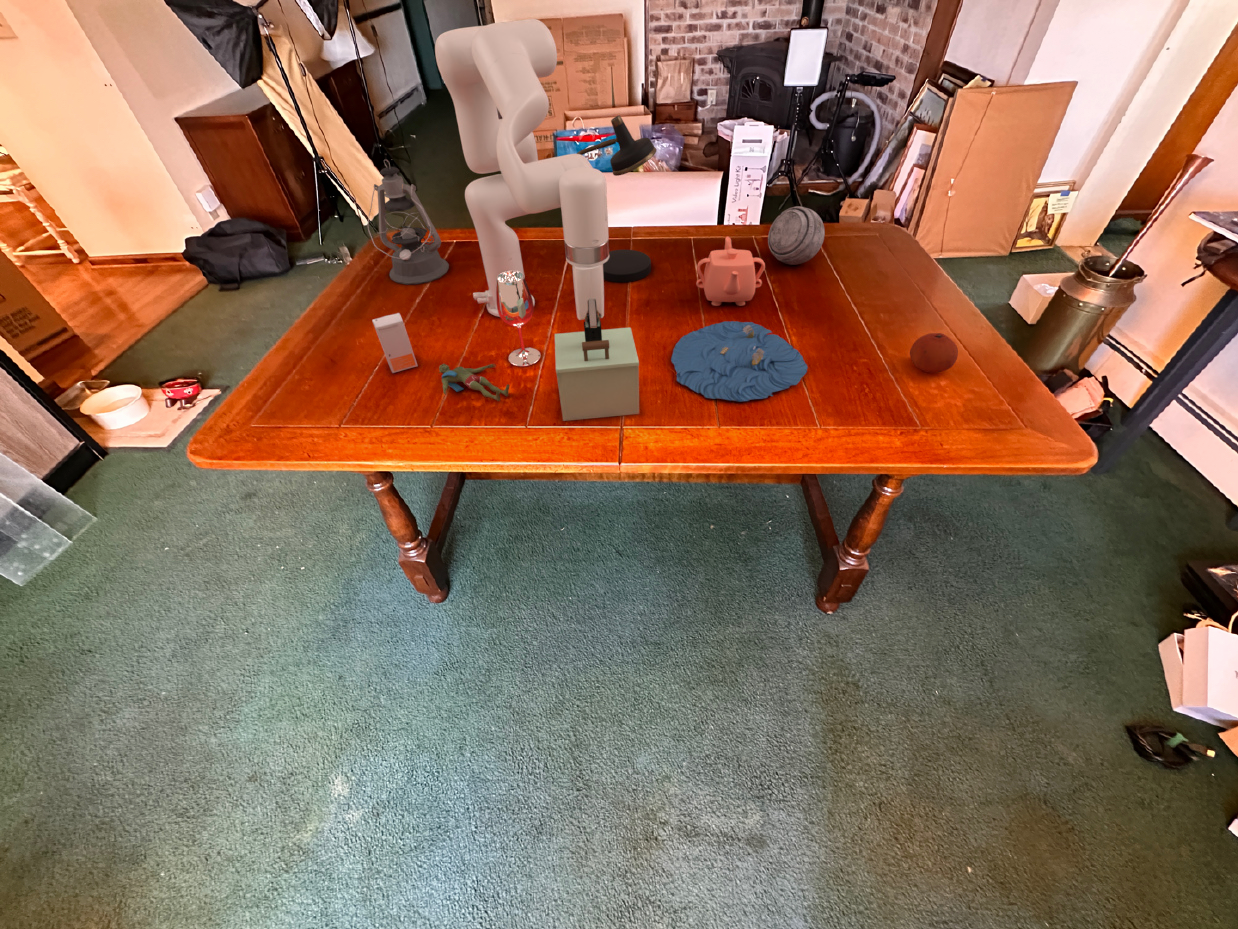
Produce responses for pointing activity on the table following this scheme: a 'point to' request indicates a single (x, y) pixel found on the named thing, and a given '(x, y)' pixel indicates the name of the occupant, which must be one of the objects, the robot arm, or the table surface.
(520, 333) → the wineglass
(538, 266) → the table surface
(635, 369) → the chest
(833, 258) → the table surface
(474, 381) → the figurine
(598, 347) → the lid
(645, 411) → the table surface
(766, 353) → the blue flat rumpled sheet
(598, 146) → the lamp
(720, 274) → the teapot
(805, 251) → the decorative orb
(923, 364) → the fruit
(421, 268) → the lantern
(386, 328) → the cosmetic box
